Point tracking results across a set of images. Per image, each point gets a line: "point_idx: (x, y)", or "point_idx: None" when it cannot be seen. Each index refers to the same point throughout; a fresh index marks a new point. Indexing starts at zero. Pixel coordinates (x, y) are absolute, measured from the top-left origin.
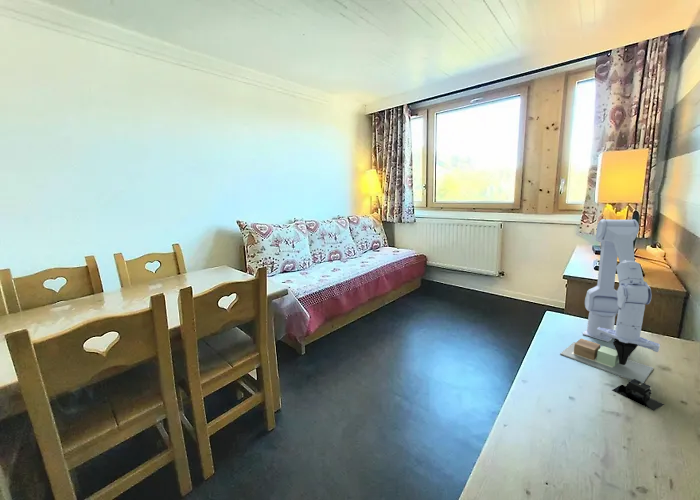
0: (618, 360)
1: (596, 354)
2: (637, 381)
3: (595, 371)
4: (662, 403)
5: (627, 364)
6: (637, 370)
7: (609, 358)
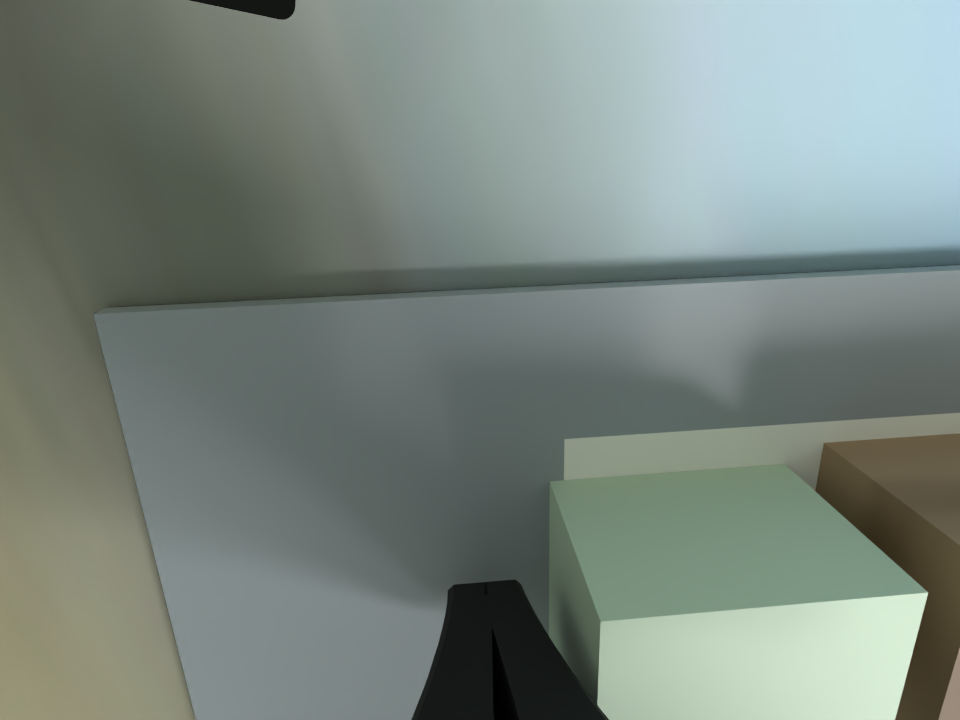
0: None
1: None
2: None
3: (726, 127)
4: None
5: None
6: (307, 626)
7: (669, 549)
